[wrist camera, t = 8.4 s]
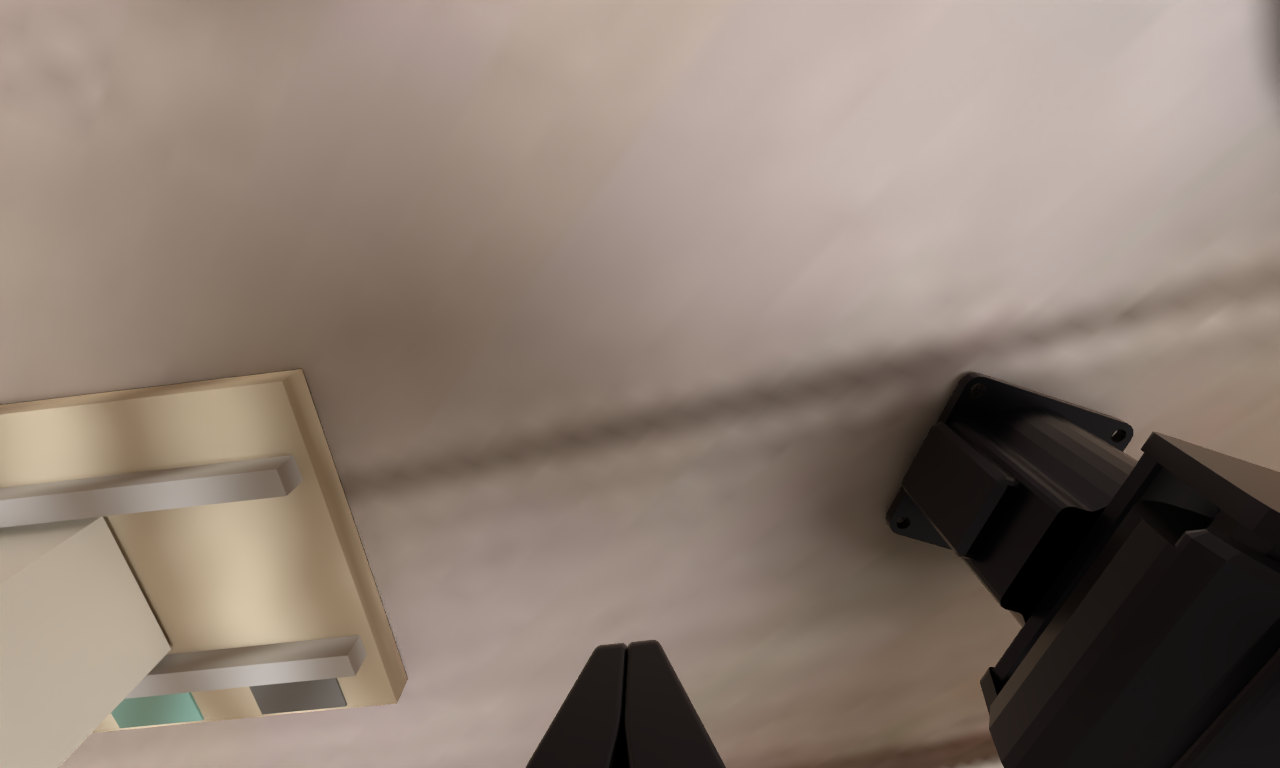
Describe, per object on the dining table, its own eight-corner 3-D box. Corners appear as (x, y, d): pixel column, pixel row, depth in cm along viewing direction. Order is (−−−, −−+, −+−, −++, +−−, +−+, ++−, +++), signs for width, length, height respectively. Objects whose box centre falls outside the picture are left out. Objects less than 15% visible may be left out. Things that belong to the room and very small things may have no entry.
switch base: (302, 369, 20) (243, 405, 17) (407, 678, 25) (376, 749, 22) (-61, 412, 21) (-178, 454, 18) (113, 707, 26) (43, 780, 23)
